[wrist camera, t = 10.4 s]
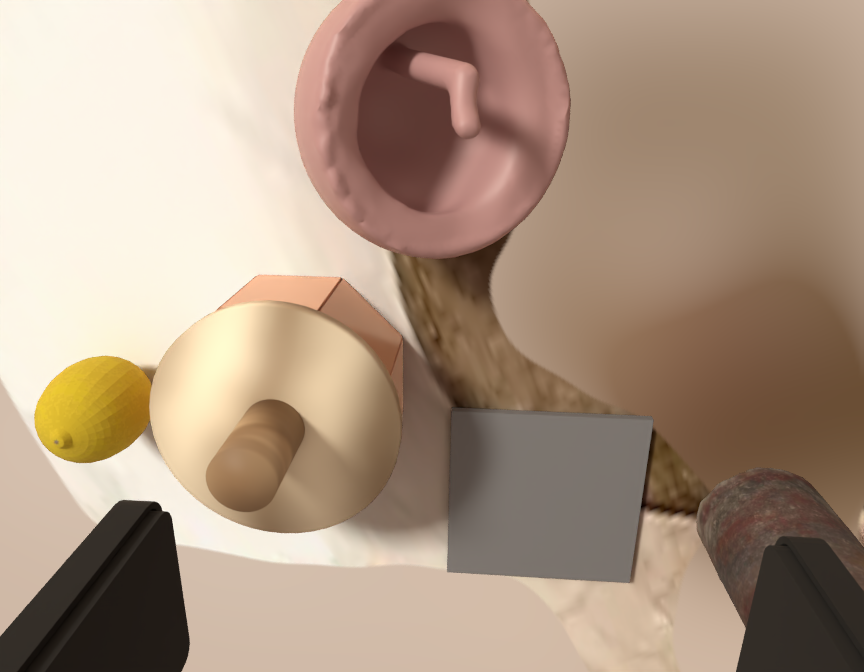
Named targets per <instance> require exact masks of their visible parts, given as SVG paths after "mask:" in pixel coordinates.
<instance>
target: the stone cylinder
mask: <svg viewBox="0 0 864 672" xmlns="http://www.w3.org/2000/svg"><path fill="white" fill-rule="evenodd" d="M696 523H697V532H698V534H699V537H700V539H701V541H702V543H703V545H704V546H705V548H706V550H707V552H708V554H709V557H710V559H711V561H712V563H713V565H714V567H715V569H716V571H717V573H718V576H719V578H720V580H721V582H722V583H723V584H724V587H725V589H726V591H727V593H728V594H729V596H730V598H731V600H732V602H733V604H734V606H735V607H736V610H737V612H738V614H739V616H740V618H741V619H742V622H743V623H744V625H745V627H746V626H747V622H748V618H749V613H750V609H751V605H752V600H753V596H754V592H755V587H756V583H757V579H758V574H759V570H760V566H761V561H762V557H763V553H764V550H765V548H766V547H767V546H768V545H775V544H776V541H777V540H778V539H779V537H782V536H793V537H811V538H821V539H824V540H825V541H826V542H827V543H828V544H829V546H830V547H831V548H832V550H833V551H834V552H835V554H836V555H837V556H838V558H839V559H840V560H841V562H842V563H843V564H844V566H845V567H846V568H847V570H848V571H849V572H850V574H851V575H852V576H853V578H854V579H855V580H856V582H857V583H858V584H859V586H860V587H861V588H862V590H863V591H864V547H863V546H862V545H861V544H860V542H859V541H858V539H857V538H856V537H855V536H854V535H853V533H852V532H851V531H850V530H849V528H848V527H847V526H846V525H845V524H844V523H843V522H842V520H841V519H840V518H839V517H838V515H837V514H836V513H835V512H834V511H833V509H832V508H831V507H830V506H829V504H828V503H827V502H826V501H825V500H824V499H823V498H822V496H821V495H820V494H819V493H818V492H817V491H816V489H815V488H814V487H813V486H812V485H811V484H810V483H809V482H808V481H806V480H805V479H804V478H803V477H800V476H798V475H795V474H793V473H790V472H788V471H783V470H780V469H773V468H755V469H750V470H747V471H746V472H744V473H739V474H738V475H736V476H734V477H732V478H730V479H728V480H725V481H723V482H721V483H719V484H718V485H717V486H716V487H715V488H714V489H713V490H712V492H711V493H710V494H709V495H708V496H707V497H706V498H704V499H703V500H702V501H701V503H700V506H699V510H698V514H697V522H696Z"/></svg>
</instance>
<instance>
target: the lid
mask: <svg viewBox="0 0 864 672" xmlns="http://www.w3.org/2000/svg"><path fill="white" fill-rule="evenodd" d="M149 409H150V422H151V426H152V431H153V435H154V438H155V441H156V444H157V447H158V449H159V452H160V453H161V455H162V457H163V459H164V461H165V463H166V465H167V466H168V468H169V469H170V471H171V472H172V474H173V475H174V477H175V478H176V479H177V480H178V481H179V482H180V484H181V485H182V486H183V487H184V488H185V489H186V490H187V491H188V492H189V493H190V494H191V495H192V496H193V497H195V498H196V499H197V500H198V501H200V502H201V503H202V504H204V505H205V506H206V507H208V508H209V509H211V510H212V511H214V512H216V513H217V514H219V515H221V516H223V517H225V518H227V519H229V520H231V521H234V522H236V523H238V524H241V525H244V526H247V527H250V528H254V529H259V530H263V531H268V532H277V533H302V532H311V531H316V530H320V529H325V528H328V527H331V526H334V525H336V524H339V523H341V522H343V521H345V520H347V519H349V518H351V517H353V516H354V515H356V514H357V513H359V512H360V511H362V510H363V509H364V508H366V507H367V506H368V505H369V504H370V503H371V502H372V501H373V500H374V499H375V498H376V497H377V496H378V494H379V493H380V492H381V491H382V489H383V488H384V486H385V485H386V483H387V481H388V480H389V478H390V476H391V474H392V471H393V469H394V466H395V464H396V460H397V456H398V452H399V447H400V443H401V438H402V410H401V405H400V401H399V396H398V393H397V390H396V387H395V385H394V382H393V379H392V378H391V376H390V374H389V372H388V370H387V368H386V366H385V365H384V363H383V362H382V361H381V359H380V358H379V356H378V355H377V354H376V352H375V351H374V350H373V349H372V348H371V347H370V346H369V345H368V344H367V342H366V341H365V340H364V339H362V338H361V337H360V336H359V335H358V334H357V333H355V332H354V331H353V330H352V329H350V328H349V327H347V326H346V325H344V324H343V323H341V322H340V321H338V320H337V319H335V318H333V317H331V316H329V315H327V314H325V313H323V312H321V311H318V310H315V309H312V308H309V307H307V306H303V305H299V304H294V303H290V302H283V301H272V300H265V301H250V302H243V303H237V304H234V305H231V306H227V307H224V308H221V309H219V310H217V311H215V312H213V313H211V314H208V315H207V316H205V317H204V318H202V319H201V320H199V321H198V322H196V323H195V324H194V325H192V326H191V327H190V328H189V329H188V330H186V331H185V332H184V333H183V334H182V335H181V336H180V337H179V338H177V339H176V340H175V342H174V343H173V344H172V345H171V346H170V348H169V349H168V350H167V351H166V353H165V355H164V356H163V358H162V360H161V361H160V363H159V365H158V368H157V370H156V373H155V375H154V378H153V382H152V387H151V391H150V404H149Z"/></svg>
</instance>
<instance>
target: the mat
mask: <svg viewBox="0 0 864 672" xmlns="http://www.w3.org/2000/svg"><path fill="white" fill-rule="evenodd" d="M652 427H653V418H652V417H651V416H633V415H610V414H588V413H565V412H543V411H520V410H498V409H476V408H453V407H452V416H451V452H450V488H449V524H448V560H447V572H454V573H471V574H489V575H505V576H521V577H538V578H555V579H572V580H589V581H606V582H623V583H630V576H631V570H632V563H633V556H634V549H635V543H636V536H637V529H638V522H639V515H640V509H641V502H642V495H643V488H644V482H645V475H646V468H647V461H648V454H649V448H650V441H651V434H652Z"/></svg>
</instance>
